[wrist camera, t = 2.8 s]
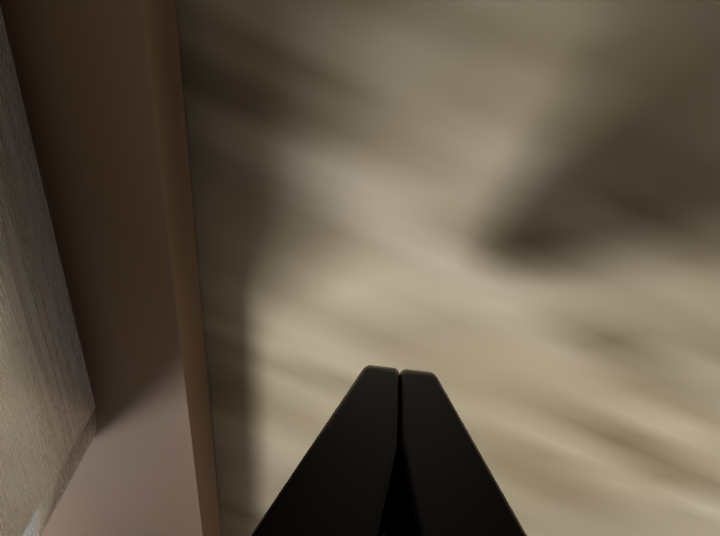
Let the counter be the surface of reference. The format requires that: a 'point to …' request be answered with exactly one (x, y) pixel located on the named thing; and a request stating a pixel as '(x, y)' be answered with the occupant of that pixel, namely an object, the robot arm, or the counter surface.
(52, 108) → the board
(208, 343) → the counter surface
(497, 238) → the counter surface
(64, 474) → the link
